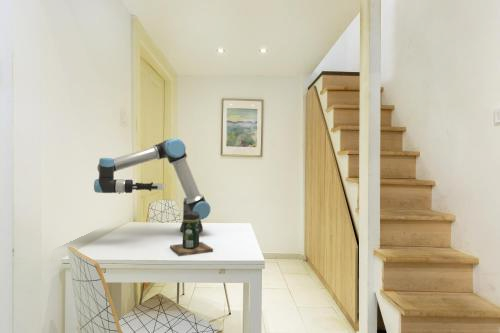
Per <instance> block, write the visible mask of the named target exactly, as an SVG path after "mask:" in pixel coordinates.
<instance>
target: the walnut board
mask: <svg viewBox="0 0 500 333" xmlns="http://www.w3.org/2000/svg"><path fill="white" fill-rule="evenodd" d="M182 244H183V243H179V244H178V243H177V244H170V245H169V249H171V250H172V251H173V252H174V253H175V254H176V255H177V256H178V257H182V256H191V255H199V254H205V253H212V252H214V248H213V247H211V246H210V245H207V244H206V243H204V242H203V241H199V245H198V246H197V247H196V248H190V249H187V248H184V247H183V246H182Z"/></svg>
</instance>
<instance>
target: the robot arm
mask: <svg viewBox="0 0 500 333" xmlns="http://www.w3.org/2000/svg"><path fill="white" fill-rule="evenodd" d="M187 158H188V154H187V152H186V144H185V143H184V141H183V140H181V139H179V138H175V137H173V138H169V139H166V140H164V141H162V142H160V143H158V144H157V143H156V144H154V145H152V147H149V148H146V149H142V150H139V151H135V152H133V153H129V154H125V155H121V156H118V157H115V158H112V157H100V158H99V160H98V165H97V167H96V168H97V171H98V178H97V179H95V180H94V182H93V191H94V192H95V193H98V194H99V193H100V194H117V193H118V194H119V195H120V194H123V193H126V194H132V192H133V190H135V191H142V190H144V191H145V190H146V191H149V192H152V190H153V191H158V190H159V191H160V190H164V189H165V183H161V182H160V183H157V182H156V183H153V182H150V183H143V182H135V183H134V181H133V179H118V178H117V179H114V178H115V176H114V174H115V172H117V171H120V170H124V169H127V168H130V167H133V166H137V165H139V164H143V163H147V162H151V161H153V160H162V159H167V161H168V163H169V164H171V165H172V166H173V168H174V171H175V173H176V176H177V178H178V180H179V182H180V185H181V187H182V190H183V192H184V194H185V197H184V198H183V201H182V202H183V203H182V204H183V206H182V208H183V210H182V216H183V215H184V214H185V213H188V212H190V211H196V212H198V213H199V233H202V232H203V230H204V229H203V228H204V226H203V224H202V221H201V220H204V219H206V218H207V217H208V216H210V213H211V206H210V204H209V203H208V202H207V201H206V199H205V197H204V194H201V192H200V191H199V189H198V185H197V183H196V181H195V178H194V176H193V174H192V171H191V169H190V166H189V163H188V161H187ZM179 228H180V229H179V232H180V233H183V220H182V222H181V224H180V227H179ZM201 231H202V232H201Z"/></svg>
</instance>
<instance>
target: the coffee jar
mask: <svg viewBox="0 0 500 333" xmlns="http://www.w3.org/2000/svg"><path fill="white" fill-rule="evenodd" d="M182 221H183V232H182V243H181V244H182V246H183V247H184V248H187V249H190V248H196V247H197V246H198V245H199V242H200V232H199V213H198V212H196V211H190V212H188V213H185V214H184V215H183V214H182Z"/></svg>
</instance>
